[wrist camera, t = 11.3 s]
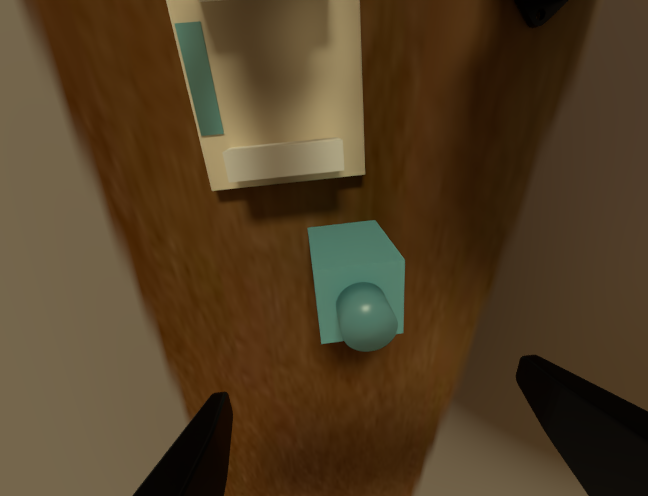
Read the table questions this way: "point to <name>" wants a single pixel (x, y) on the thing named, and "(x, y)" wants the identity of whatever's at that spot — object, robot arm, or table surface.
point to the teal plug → (357, 284)
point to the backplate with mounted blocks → (273, 88)
